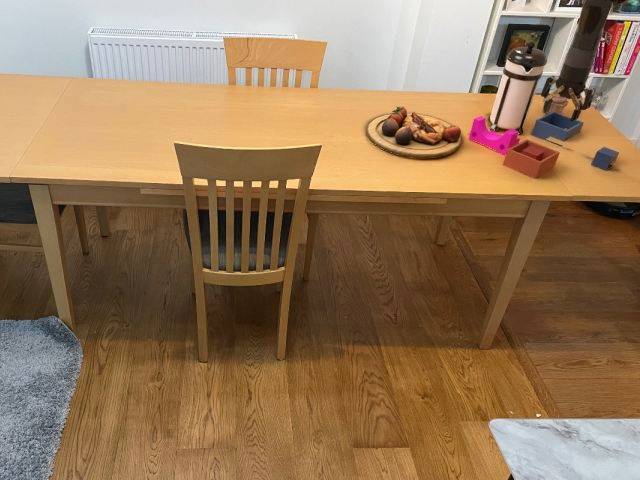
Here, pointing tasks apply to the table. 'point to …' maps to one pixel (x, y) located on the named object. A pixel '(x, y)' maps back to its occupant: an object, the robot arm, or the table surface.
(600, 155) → the blue block
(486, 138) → the magenta cradle bracket
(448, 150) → the wooden plate
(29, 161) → the table surface
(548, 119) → the blue bin
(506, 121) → the coffee press
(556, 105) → the cupcake
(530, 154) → the red block
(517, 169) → the red bin
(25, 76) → the table surface
